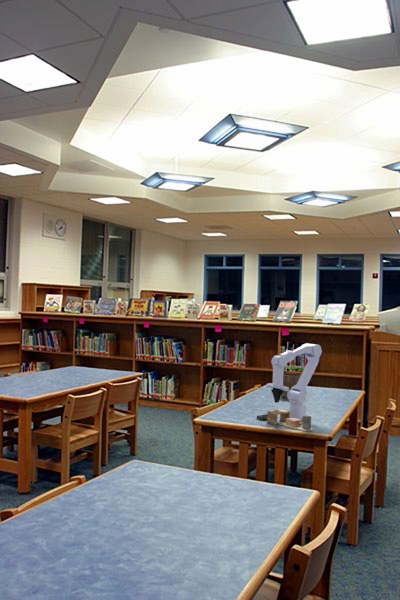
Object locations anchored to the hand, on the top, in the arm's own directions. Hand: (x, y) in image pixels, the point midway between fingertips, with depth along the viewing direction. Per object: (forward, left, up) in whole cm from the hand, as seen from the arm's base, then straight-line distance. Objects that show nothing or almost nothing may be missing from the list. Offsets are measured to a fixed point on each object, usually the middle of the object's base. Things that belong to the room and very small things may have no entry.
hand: (276, 402), depth 285 cm
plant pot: (-67, -48, -10) cm, 83 cm away
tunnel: (+3, +5, -10) cm, 11 cm away
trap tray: (+3, -5, -10) cm, 11 cm away
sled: (+3, +16, -10) cm, 19 cm away
